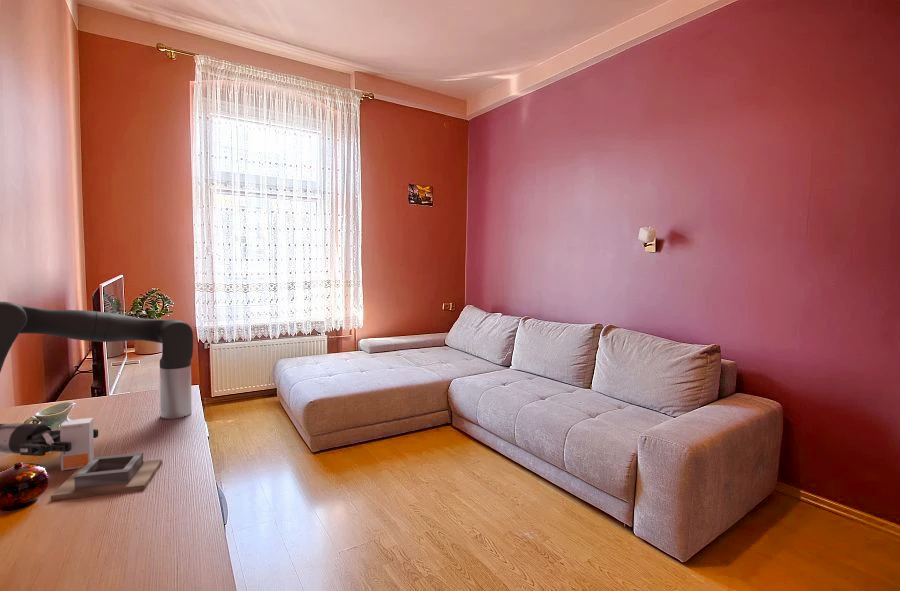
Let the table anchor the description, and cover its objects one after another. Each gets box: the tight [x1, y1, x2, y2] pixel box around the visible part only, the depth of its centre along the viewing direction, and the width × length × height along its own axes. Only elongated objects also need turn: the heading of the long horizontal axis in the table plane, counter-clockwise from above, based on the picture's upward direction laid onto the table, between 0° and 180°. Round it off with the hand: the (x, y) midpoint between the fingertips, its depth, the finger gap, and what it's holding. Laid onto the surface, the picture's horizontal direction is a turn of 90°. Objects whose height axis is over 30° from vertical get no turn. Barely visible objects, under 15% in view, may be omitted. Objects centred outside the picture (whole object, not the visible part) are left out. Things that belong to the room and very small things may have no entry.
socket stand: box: [50, 452, 163, 502], centre depth 108 cm, size 14×18×4 cm
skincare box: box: [59, 417, 95, 472], centre depth 115 cm, size 6×4×12 cm
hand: (84, 440), depth 115 cm, fingers open, 8 cm apart
